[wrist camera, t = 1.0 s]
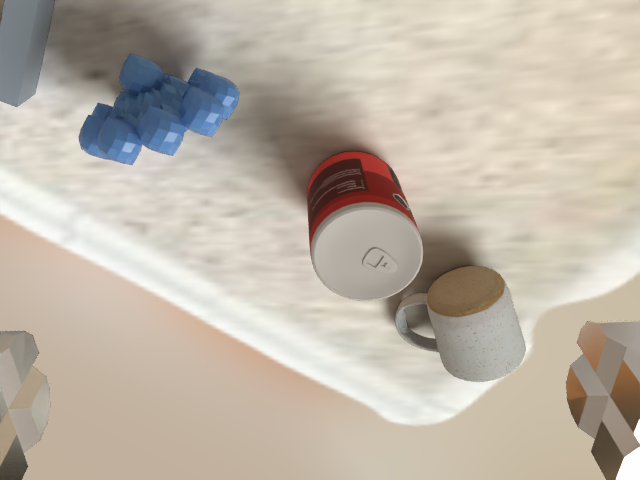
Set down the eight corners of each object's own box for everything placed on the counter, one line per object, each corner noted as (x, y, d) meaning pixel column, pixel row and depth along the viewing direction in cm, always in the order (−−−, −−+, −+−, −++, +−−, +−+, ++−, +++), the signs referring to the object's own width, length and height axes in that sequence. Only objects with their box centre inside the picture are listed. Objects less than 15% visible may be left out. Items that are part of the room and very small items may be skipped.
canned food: (383, 238, 53) (404, 311, 43) (296, 219, 52) (298, 290, 42) (411, 160, 50) (441, 220, 40) (319, 138, 48) (326, 194, 39)
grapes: (223, 10, 43) (202, 42, 33) (256, 97, 46) (246, 152, 36) (77, 60, 44) (12, 107, 34) (119, 142, 48) (71, 208, 37)
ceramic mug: (491, 250, 54) (518, 298, 48) (511, 317, 58) (538, 370, 51) (381, 286, 56) (392, 338, 49) (407, 349, 60) (420, 405, 53)
